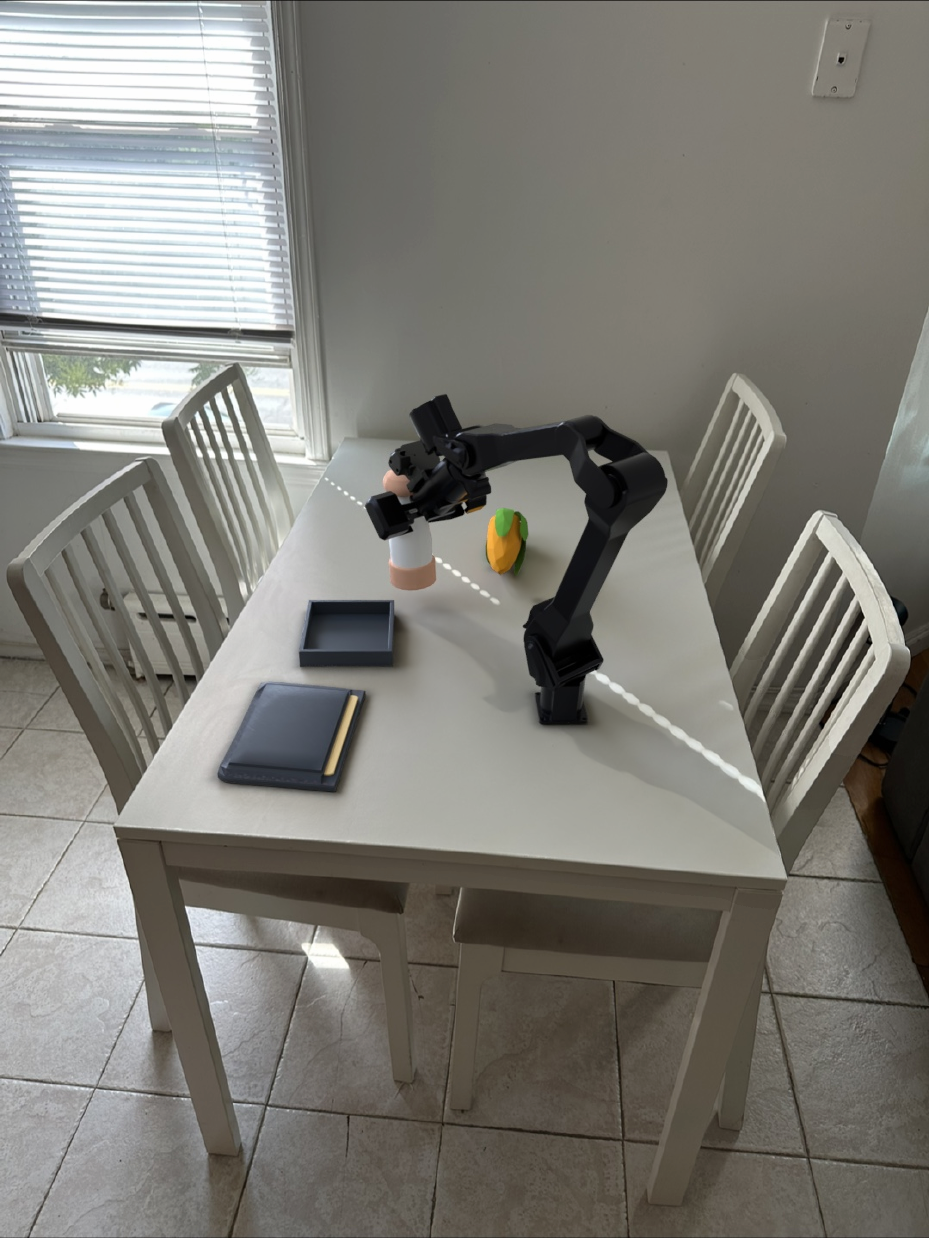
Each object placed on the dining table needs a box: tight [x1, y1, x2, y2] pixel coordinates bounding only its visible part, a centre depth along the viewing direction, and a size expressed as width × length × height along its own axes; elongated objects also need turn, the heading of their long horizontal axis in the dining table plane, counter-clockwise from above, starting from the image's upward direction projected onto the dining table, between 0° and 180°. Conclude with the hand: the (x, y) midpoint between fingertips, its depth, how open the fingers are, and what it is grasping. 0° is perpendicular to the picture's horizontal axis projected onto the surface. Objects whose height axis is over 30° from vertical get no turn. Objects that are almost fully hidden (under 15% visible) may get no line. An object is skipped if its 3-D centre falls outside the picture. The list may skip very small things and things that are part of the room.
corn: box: [485, 507, 529, 576], centre depth 158 cm, size 7×8×20 cm
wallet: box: [216, 681, 367, 793], centre depth 118 cm, size 20×2×15 cm
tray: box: [298, 599, 395, 667], centre depth 138 cm, size 14×13×3 cm
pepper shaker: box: [382, 468, 437, 591], centre depth 140 cm, size 7×7×19 cm
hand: (405, 525), depth 141 cm, fingers closed on pepper shaker, 5 cm apart
